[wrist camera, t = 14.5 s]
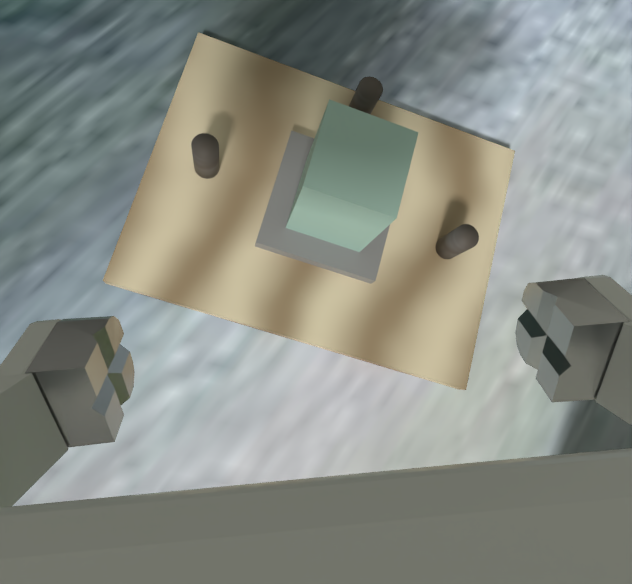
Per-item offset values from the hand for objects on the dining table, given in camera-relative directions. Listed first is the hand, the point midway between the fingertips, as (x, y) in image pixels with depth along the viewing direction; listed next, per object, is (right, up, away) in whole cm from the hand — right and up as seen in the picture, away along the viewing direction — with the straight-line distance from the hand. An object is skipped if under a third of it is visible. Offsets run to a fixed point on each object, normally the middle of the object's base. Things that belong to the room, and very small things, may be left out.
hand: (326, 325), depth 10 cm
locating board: (+1, +6, +24) cm, 25 cm away
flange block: (+1, +6, +23) cm, 24 cm away
